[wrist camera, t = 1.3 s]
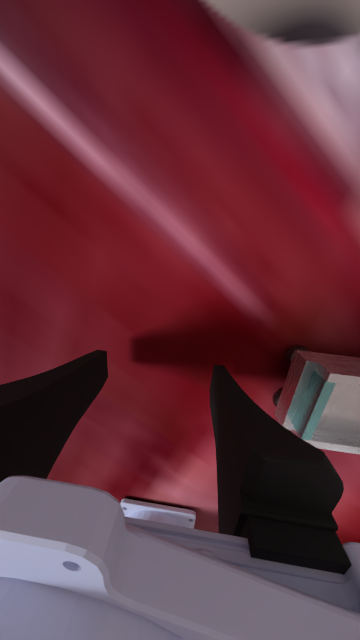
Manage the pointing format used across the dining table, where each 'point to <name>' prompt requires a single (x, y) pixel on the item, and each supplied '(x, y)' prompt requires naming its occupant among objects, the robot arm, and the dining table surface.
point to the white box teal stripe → (321, 399)
